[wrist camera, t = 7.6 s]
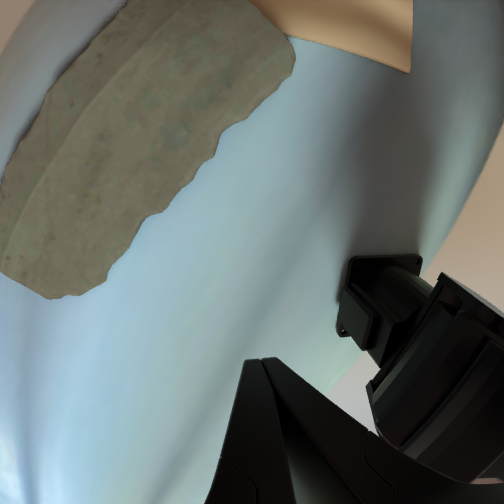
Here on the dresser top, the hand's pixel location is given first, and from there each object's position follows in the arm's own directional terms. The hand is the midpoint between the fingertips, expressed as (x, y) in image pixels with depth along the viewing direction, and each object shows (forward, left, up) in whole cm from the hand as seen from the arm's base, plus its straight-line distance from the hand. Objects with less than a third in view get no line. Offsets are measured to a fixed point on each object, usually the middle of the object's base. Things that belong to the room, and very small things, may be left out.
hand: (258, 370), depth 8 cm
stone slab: (+6, -5, -12) cm, 15 cm away
